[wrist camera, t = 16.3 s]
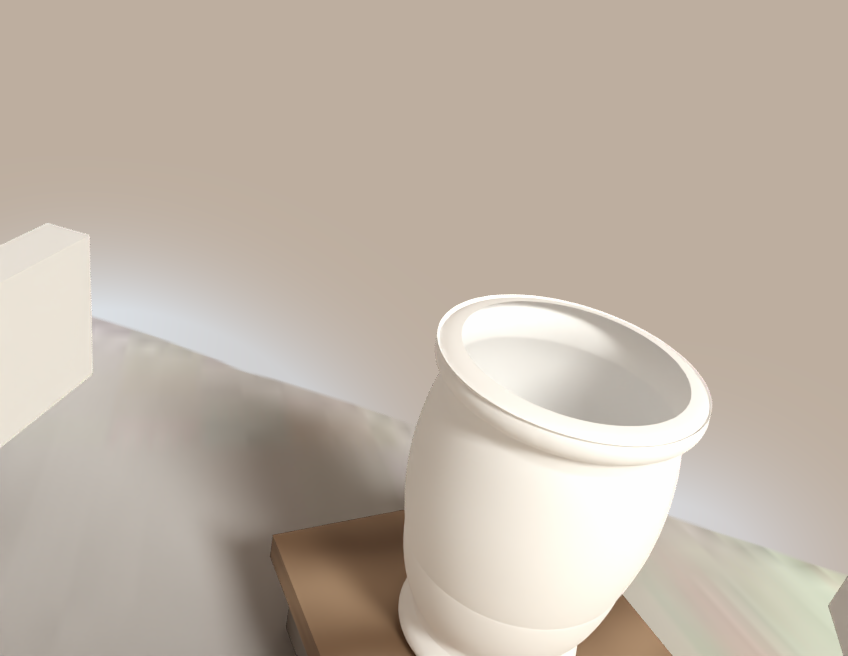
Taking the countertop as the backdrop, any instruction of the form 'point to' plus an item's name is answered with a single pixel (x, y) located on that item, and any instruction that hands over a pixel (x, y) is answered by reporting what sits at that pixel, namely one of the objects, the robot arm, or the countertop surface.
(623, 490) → the jar
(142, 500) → the countertop surface
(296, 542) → the stand
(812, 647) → the countertop surface
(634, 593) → the countertop surface
